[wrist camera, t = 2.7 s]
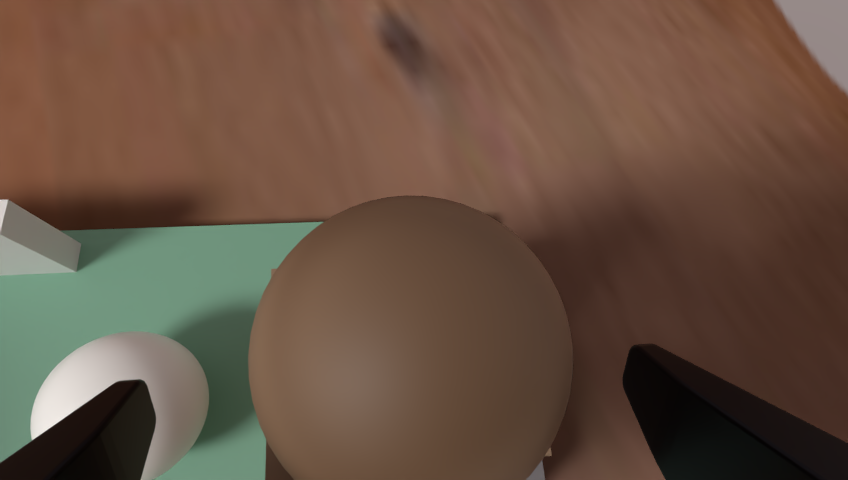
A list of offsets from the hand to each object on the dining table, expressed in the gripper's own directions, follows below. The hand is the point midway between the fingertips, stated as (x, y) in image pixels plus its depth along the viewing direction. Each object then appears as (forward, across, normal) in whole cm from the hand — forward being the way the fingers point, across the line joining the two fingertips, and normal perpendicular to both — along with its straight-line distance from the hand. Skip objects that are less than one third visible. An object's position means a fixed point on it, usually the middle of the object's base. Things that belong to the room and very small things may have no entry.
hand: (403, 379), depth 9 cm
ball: (+4, +7, +4) cm, 9 cm away
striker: (+5, 0, +5) cm, 7 cm away
